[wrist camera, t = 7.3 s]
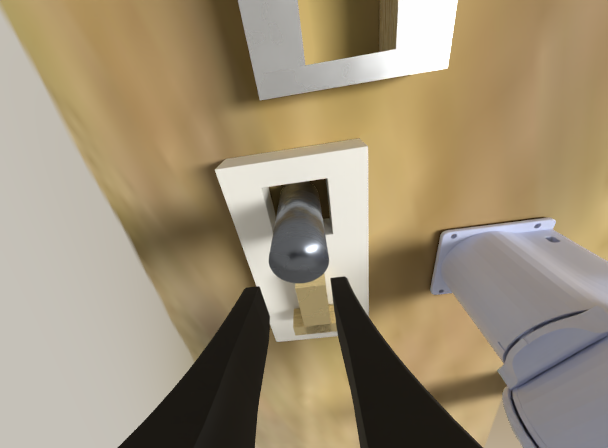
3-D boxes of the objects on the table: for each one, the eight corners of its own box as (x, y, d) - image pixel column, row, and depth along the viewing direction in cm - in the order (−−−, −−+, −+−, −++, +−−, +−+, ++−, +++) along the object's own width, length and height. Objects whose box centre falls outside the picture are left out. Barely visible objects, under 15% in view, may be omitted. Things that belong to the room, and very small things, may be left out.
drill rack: (438, -105, 11) (480, -161, 8) (421, 70, 15) (447, 68, 12) (234, -59, 12) (215, -100, 9) (266, 97, 15) (259, 100, 13)
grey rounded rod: (316, 176, 18) (326, 232, 11) (321, 212, 20) (331, 280, 13) (276, 182, 18) (262, 241, 12) (284, 217, 20) (275, 286, 13)
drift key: (335, 266, 20) (338, 283, 18) (340, 312, 23) (343, 330, 21) (284, 272, 20) (282, 289, 18) (295, 316, 23) (295, 335, 21)
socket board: (359, 138, 17) (367, 146, 15) (363, 312, 27) (368, 332, 25) (225, 159, 17) (214, 169, 15) (278, 321, 27) (276, 342, 25)
